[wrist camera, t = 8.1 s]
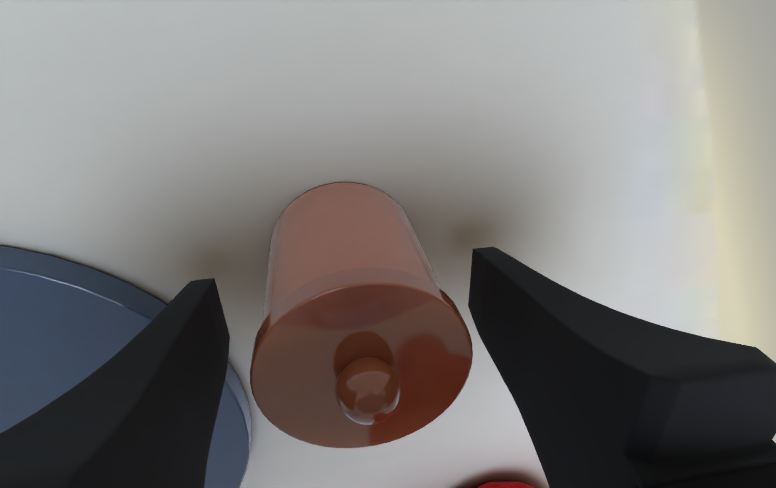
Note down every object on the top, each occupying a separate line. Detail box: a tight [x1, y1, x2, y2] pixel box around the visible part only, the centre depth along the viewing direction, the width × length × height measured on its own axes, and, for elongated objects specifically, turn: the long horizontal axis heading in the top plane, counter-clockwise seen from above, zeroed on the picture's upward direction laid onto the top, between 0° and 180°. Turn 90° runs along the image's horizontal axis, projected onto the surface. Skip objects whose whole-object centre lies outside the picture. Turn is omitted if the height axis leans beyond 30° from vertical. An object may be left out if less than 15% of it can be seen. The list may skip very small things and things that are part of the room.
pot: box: [250, 182, 473, 448], centre depth 12 cm, size 5×5×7 cm
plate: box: [0, 246, 251, 488], centre depth 16 cm, size 16×16×1 cm
